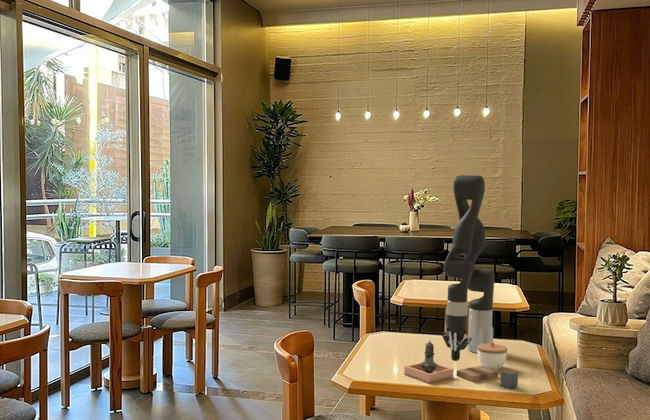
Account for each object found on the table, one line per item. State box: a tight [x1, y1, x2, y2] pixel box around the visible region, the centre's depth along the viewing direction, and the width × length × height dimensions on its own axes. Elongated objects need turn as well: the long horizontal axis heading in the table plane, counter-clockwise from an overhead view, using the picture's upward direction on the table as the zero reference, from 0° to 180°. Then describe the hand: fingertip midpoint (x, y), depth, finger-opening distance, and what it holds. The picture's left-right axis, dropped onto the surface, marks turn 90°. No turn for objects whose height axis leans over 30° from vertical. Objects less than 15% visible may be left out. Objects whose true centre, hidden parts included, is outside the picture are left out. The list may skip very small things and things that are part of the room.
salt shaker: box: [420, 340, 438, 373], centre depth 224 cm, size 6×6×12 cm
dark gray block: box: [499, 369, 519, 390], centre depth 213 cm, size 4×4×5 cm
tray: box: [403, 361, 454, 384], centre depth 224 cm, size 12×12×3 cm
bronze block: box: [456, 365, 499, 383], centre depth 224 cm, size 12×8×2 cm, turn 122°
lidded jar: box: [477, 341, 508, 371], centre depth 235 cm, size 11×11×9 cm
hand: (455, 360), depth 232 cm, fingers closed
